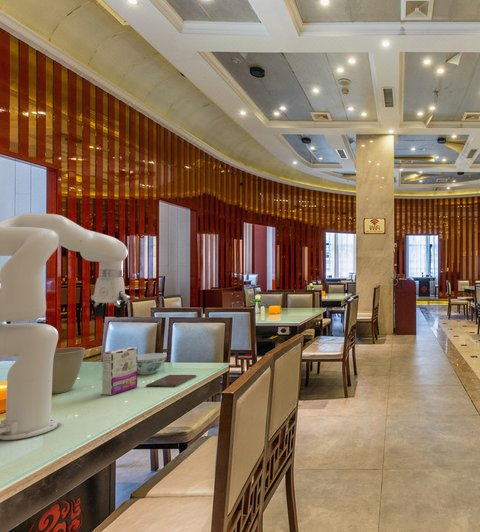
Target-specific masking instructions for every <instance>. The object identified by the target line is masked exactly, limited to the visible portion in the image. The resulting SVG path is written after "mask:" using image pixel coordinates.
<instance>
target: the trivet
mask: <svg viewBox="0 0 480 532" xmlns="http://www.w3.org/2000/svg"><path fill="white" fill-rule="evenodd" d="M196 377H197V374H168V375H166V376H163V377H161V378H159V379H157V380H155V381H151V382H150V383H147V384H146V385H145V387H146V388H176V387H178V386H180V385H182V384H184V383H186V382H188V381H190V380H192V379H194V378H196Z"/></svg>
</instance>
